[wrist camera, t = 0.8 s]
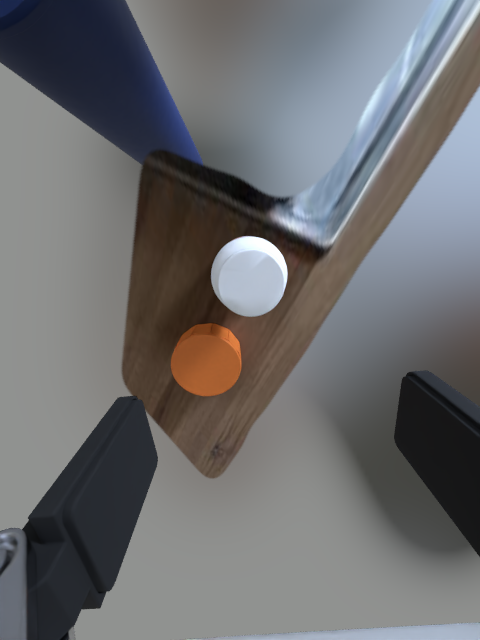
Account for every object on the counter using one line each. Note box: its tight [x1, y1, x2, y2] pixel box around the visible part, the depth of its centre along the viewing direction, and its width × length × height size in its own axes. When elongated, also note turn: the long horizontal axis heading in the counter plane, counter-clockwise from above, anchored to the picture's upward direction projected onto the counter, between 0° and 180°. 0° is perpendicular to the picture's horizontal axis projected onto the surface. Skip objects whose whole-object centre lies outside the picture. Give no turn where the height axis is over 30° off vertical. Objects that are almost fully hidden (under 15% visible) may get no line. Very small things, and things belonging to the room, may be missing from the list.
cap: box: [171, 323, 241, 396], centre depth 29 cm, size 8×8×4 cm
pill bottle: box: [211, 236, 287, 317], centre depth 22 cm, size 6×6×11 cm
